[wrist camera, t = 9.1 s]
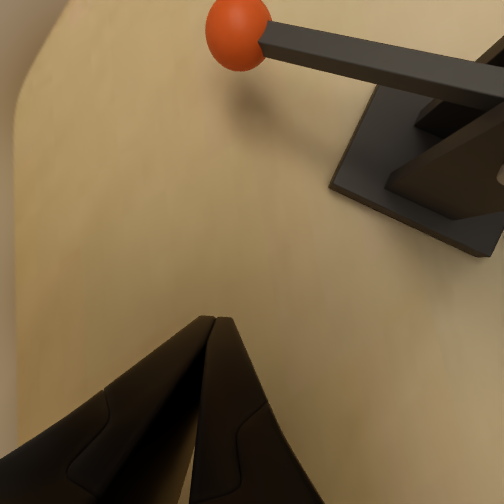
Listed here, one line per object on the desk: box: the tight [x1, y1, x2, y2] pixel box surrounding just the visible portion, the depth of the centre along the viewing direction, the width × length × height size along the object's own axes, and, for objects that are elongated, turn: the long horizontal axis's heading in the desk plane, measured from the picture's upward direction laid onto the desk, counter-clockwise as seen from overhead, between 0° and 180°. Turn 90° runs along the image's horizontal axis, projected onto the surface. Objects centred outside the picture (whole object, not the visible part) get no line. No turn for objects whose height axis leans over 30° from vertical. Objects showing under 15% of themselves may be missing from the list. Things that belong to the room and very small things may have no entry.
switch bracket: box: [329, 36, 504, 257], centre depth 15 cm, size 10×7×11 cm
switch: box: [205, 0, 504, 111], centre depth 14 cm, size 16×3×3 cm, turn 65°
